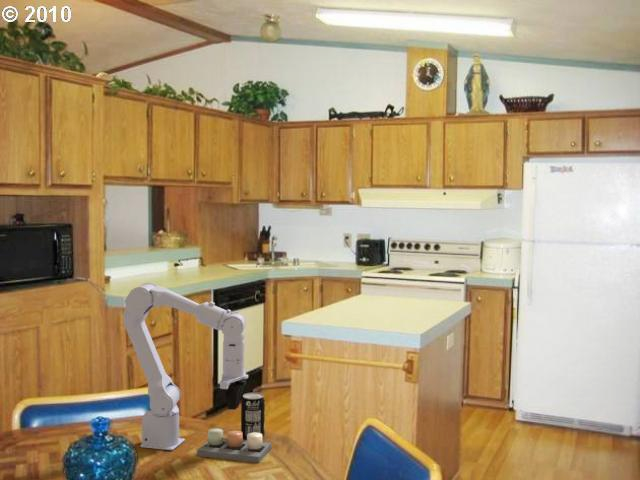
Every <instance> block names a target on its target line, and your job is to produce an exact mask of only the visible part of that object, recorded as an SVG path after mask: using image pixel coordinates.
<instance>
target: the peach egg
mask: <svg viewBox="0 0 640 480" xmlns="http://www.w3.org/2000/svg"><path fill="white" fill-rule="evenodd" d="M226 435H227V436H226V438H227V445H228V446H230V447H239V446H241V445H242V444H243V440H244V439H243V433H242V432H241V430H230V431H228V432H227V433H226Z"/></svg>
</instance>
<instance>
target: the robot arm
mask: <svg viewBox="0 0 640 480" xmlns="http://www.w3.org/2000/svg"><path fill="white" fill-rule="evenodd" d="M124 304H125V307H124V313H123V318H122V320H123V326H124V328H125V330H126V333H127V334H128V338H129V340H130V342H131V344H132V347H133V349H134V352H135V355H136V358H137V361H138V362H139V364H140V367H141V369H142V372H143V374H144V377H145V380H146V382H147V393H148V397H149V408H150V410H146V411H145V413H144V415H143V417H142V420H141V444H140V448H143V449H144V448H148V449H154V450H162V451H163V450H164V451H174V450H175V449H177V448H178V447H179V446H180V445H182V443H184V442H185V441H186V439H185V438H181V437H180V409H179V407H178V404H177V403H179V401H180V399H181V390H180V389H179V387H178V386H177V385H176V384H175V383H174V382H173V379H172V378H171V377H170V376H169V375H168V374H167V372H166V370H165V367H164V365H163V363H162V361H161V357H160V355H159V353H158V351H157V349H156V345H155V344H154V341H153V339H152V336H151V334H150V332H149V329H148V327H147V324H146V318H147V317H148V314H149V313H150V310H151V309H152V308H158V307H163V306H168V307H170V308H173V309H176V310H178V311H182V312H185V313H188V314H190V315H193V317H195V320H196V321H197V323H200V324H203V325H205V326H206V327H209V328H212V329H214V330H217V331H221V333H222V335H223V341H222V375H221V380H220V381H219V389H220V390H222V393H223V394H224V396H225V399H226V400H225V401H226V404H227V409H228V410H235V411H236V410H237V409H238V408H239V405H240V403H241V397H242V393H243V390H244V388H245V385H246V384H247V379H249V374H247V368H245V340H244V339H245V335H244V334H245V333H244V330H245V328H246V323H247V322H246V319H245V317H244V316H243V314H241V313H239V312H238V311H232V310H231V309H224V308H221V307H219V306H217V305H216V303H215V302H213V301H210V302H207V301H205V302H202V303H198V302H196V301H194V300H191V299H189V298H188V297H185V296H183V295H182V294H179V293H177V292H175V291H172V290H170V289H168V288H166V287H165V286H162V285H156V284H154V283H152V282H145V283H142V284H141V285H139V286H137V287H133V288H132V289H131V290H130V291H129V293H128V295H127V296H126V298H125V300H124Z"/></svg>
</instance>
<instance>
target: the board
mask: <svg viewBox="0 0 640 480" xmlns="http://www.w3.org/2000/svg"><path fill="white" fill-rule="evenodd" d="M271 449H272V442H266V441H265V442H264V441H262V447H261V448H259V449H249V448H248V447H247V440H245V439H243V444H242V445H241V446H239V447H230V446H228V445H227V437H223V443H222V444H219V445H211V444H208V440H206V442H205V443H203V444H202V445H201V446H200V447H199V448H198V449H197V452H196V453H197V455H196V456H197V457H206V458H215V459H224V460H233V461H240V462H241V461H242V462H251V463H258V464H259V463H261V461H262V460H263V459H264V457H266V456H267V454H268V453H269V452H270V450H271ZM257 451H258V452H257Z"/></svg>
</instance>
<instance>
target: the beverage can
mask: <svg viewBox="0 0 640 480" xmlns="http://www.w3.org/2000/svg"><path fill="white" fill-rule="evenodd" d="M240 403H241V404H240V405H241V406H240V407H241V408H240V431H241V432H242V433H243V440H247V434H249V433H254V432H257V433H261V434H262V439H264V437H265V434H266V433H265V432H266V431H265V427H266V426H265V425H266V424H265V421H266V420H265V419H266V418H265V417H266V415H265V414H266V413H265V412H266V407H265V406H266V401H265V398H264V394H263V393H260V392H247V393H244V394H243V395H242V399H240Z"/></svg>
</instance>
